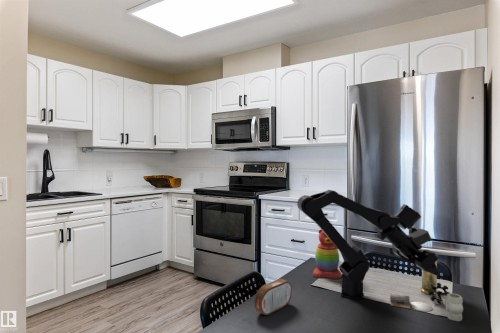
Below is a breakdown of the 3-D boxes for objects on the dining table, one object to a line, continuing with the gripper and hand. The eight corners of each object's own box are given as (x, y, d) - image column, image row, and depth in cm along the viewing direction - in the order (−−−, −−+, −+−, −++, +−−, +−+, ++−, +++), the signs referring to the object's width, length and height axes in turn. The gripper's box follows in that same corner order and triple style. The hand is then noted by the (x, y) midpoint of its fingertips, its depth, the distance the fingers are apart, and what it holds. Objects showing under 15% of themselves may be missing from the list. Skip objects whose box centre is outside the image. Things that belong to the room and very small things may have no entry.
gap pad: (411, 309, 96) (411, 308, 96) (408, 301, 102) (408, 300, 102) (433, 312, 94) (433, 312, 94) (430, 304, 100) (430, 303, 100)
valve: (470, 322, 88) (449, 303, 100) (471, 299, 88) (449, 283, 100) (445, 321, 89) (427, 302, 101) (445, 298, 89) (427, 282, 101)
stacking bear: (313, 277, 123) (313, 231, 122) (313, 268, 132) (313, 226, 132) (341, 279, 120) (342, 233, 120) (340, 270, 130) (340, 227, 130)
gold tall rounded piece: (422, 294, 107) (422, 256, 107) (419, 288, 112) (420, 252, 112) (438, 296, 105) (439, 257, 105) (435, 290, 110) (436, 253, 110)
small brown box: (390, 305, 99) (390, 296, 99) (389, 299, 103) (389, 290, 103) (410, 308, 97) (410, 299, 97) (408, 301, 101) (408, 293, 101)
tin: (286, 300, 103) (286, 274, 102) (293, 303, 100) (293, 277, 100) (253, 316, 92) (253, 287, 92) (261, 320, 90) (261, 291, 90)
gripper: (432, 227, 98) (466, 261, 99) (400, 217, 117) (428, 245, 118) (408, 253, 98) (442, 287, 99) (379, 238, 117) (408, 267, 118)
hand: (429, 270), depth 108 cm, fingers open, 9 cm apart
